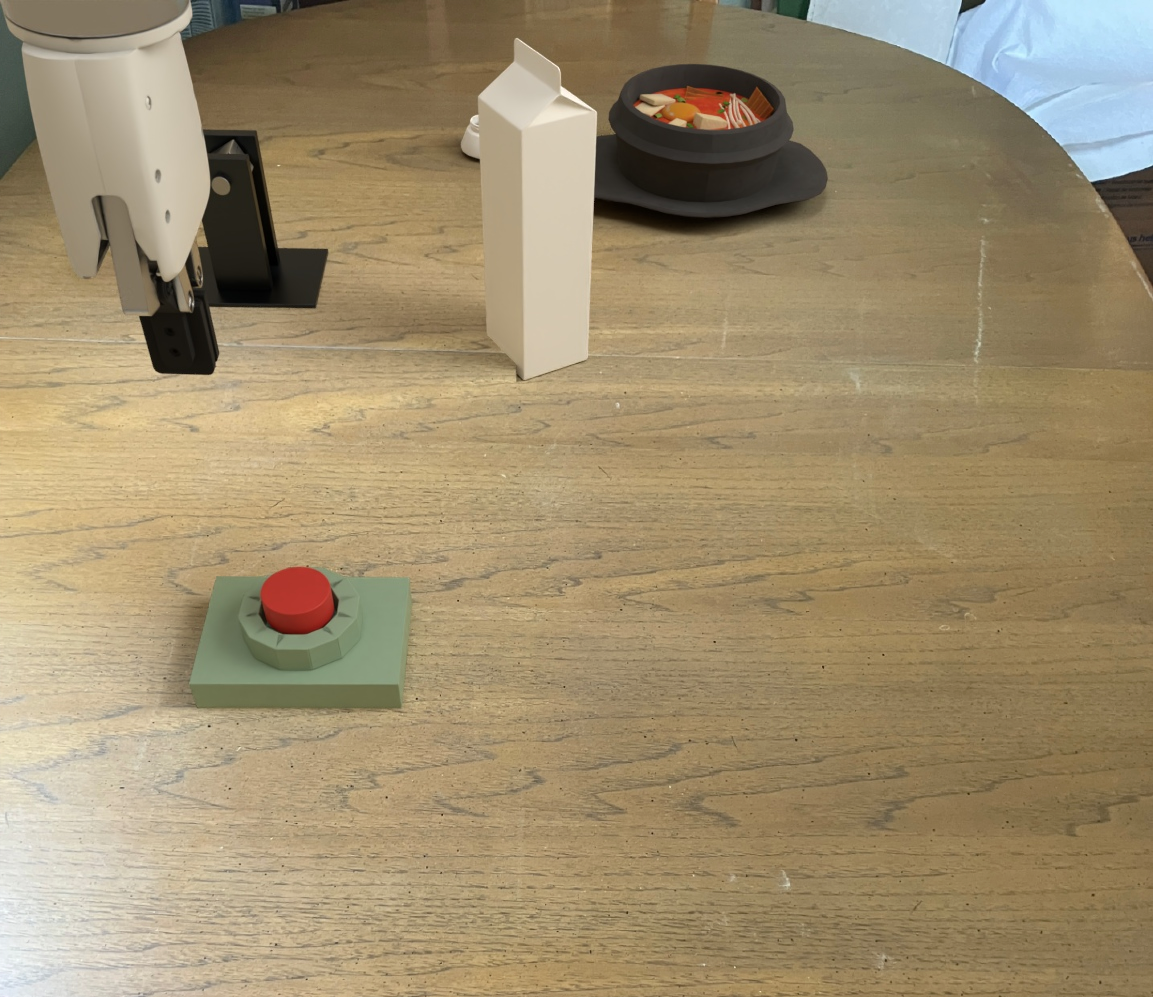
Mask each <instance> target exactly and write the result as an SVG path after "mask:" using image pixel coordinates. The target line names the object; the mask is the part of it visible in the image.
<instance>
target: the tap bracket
mask: <svg viewBox="0 0 1153 997" xmlns="http://www.w3.org/2000/svg"><path fill="white" fill-rule="evenodd" d="M202 129H203V128H202ZM203 135H204V140H205V145H206V151H207V157H208V164H209V172H210V193H209V198H208V202H207V205H206V208H205V211H204V214H203V217H202V220H201V224H202V227H203V228H202V229H203V232H204V236H205V241H206V245H207V246H198V250H199V255H200V261H201V267H202V273H203V285H202V287H201V288H194V290H206V294H207V299H208V303H209V308H253V309H254V308H256V309H261V308H263V309H267V308H268V309H317V305H318V301H319V296H320V291H321V287H322V284H323V278H324V274H325V270H326V265H327V260H328V256H329V248H314V247H313V248H311V247H310V248H309V247H307V248H306V247H279V246H278V240H277V235H276V229H275V223H274V219H273V218H274V217H273V213H272V208H271V202H270V196H269V190H268V186H267V179H266V175H265V168H264V164H263V158H262V152H261V147H260V141H259V136H258V131H257V130H256V129H255V130H252V129H208V128H207V129H206V128H205V129H203ZM231 140H235V142H236V143H237V145H238V146H239V147H240V149H241V150H242V151H243V153H244V154H216V153H212V152H214V151H215V150H217V149H218V148H220V147H222V146H223V145H225V144H227V143H228V142H230V141H231ZM250 162H251V164H252V165H253V170H251V165H250Z"/></svg>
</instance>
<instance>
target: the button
mask: <svg viewBox="0 0 1153 997" xmlns="http://www.w3.org/2000/svg"><path fill="white" fill-rule="evenodd" d="M290 567H291V566H290ZM308 567H309V566H292V567H291V568H289V567H287V568H283V569H281V570H278V571H276V573H275V572H273V573H274V574H273V575H271V576H270V577H269V578H268V579H267V580H266V581H265V582H264V584H263V586H262V588H261V593H260V596H261V601H262V604H263V608H264V612H265V616H266V620H267V622H268V623H269V625H270V626H271V627H272V628H274V629H275V630H277V631H278V632H281V633H284V634H288V635H304V634H308V633H311V632H314V631H316V630H319V629H320V628H322V627H323V626H325V625H326V624H327V623H328V622H329V621H330V619H331V618H332V615H333V613H334V602H333V597H332V592H331V587H330V583H329V581H328V579H327V578H326V576H325V575H324V574H322V573H321V572H319V571H317V570H315V569H312V568H308Z"/></svg>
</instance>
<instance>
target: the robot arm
mask: <svg viewBox="0 0 1153 997" xmlns="http://www.w3.org/2000/svg"><path fill="white" fill-rule="evenodd" d="M0 5H1V9H2V12H3V13H2V14H3V17H4V19H5V22H6V25H7V29H8V31H9V32H10V33H11V34H12V35H13V36H14V37H16V38H17V39H19V40H20V41H22V46H21V56H22V63H23V70H24V77H25V83H26V91H27V96H28V102H29V106H30V112H31V116H32V121H33V126H34V130H35V136H36V139H37V144H38V148H39V152H40V156H41V161H42V164H43V169H44V173H45V177H46V181H47V184H48V189H49V192H50V196H51V200H52V203H53V207H54V210H55V215H56V218H57V223H58V226H59V229H60V230H59V231H60V233H61V237H62V240H63V244H64V247H65V251H66V254H67V257H68V261H69V264H70V267H71V269H72V270H73V272H74V273H75V275H76V276H77V277H79V279H81V280H91V279H92V278H97V275H98V272H99V271H100V269H101V266H102V264H103V262H104V260H105V257H106V255H107V253H108V252H109V249H110V254H111V259H112V264H113V269H114V275H115V280H116V285H117V290H118V296H119V300H120V305H121V309H122V312H123V314H124V315H125V316H135V317H137V316H138V319H139V322H140V325H141V329H142V333H143V336H144V340H145V343H146V344H145V345H146V347H147V350H148V354H149V358H150V361H151V365H152V368H153V370H154V371H155V372H156V373H158V374H161V375H188V376H189V375H192V376H211V375H213V374H214V373H215V370H216V367H217V362H218V360H219V356H220V350H219V345H218V340H217V336H216V331H215V330H216V329H215V326H214V322H213V317H212V313H211V307H209V303H208V299H207V294H206V290H194V288H201V287H202V285H203V273H202V267H201V261H200V255H199V250H198V247H199V245H198V238H197V234H198V231H199V228H200V226H201V224H202V217H203V214H204V211H205V208H206V205H207V202H208V198H209V193H210V172H209V164H208V157H207V151H206V145H205V140H204V135H203V126H202V125H203V124H202V121H201V120H202V119H201V116H200V111H199V106H198V102H197V98H196V93H195V88H194V85H193V81H192V76H191V72H190V68H189V63H188V61H187V56H186V53H185V48H184V45H183V39H182V35H181V32H183V31H184V30H185V29H186V28H187V27H188V26H189V24H190V23H191V21H192V19H193V7H192V3H191V0H0Z"/></svg>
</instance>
